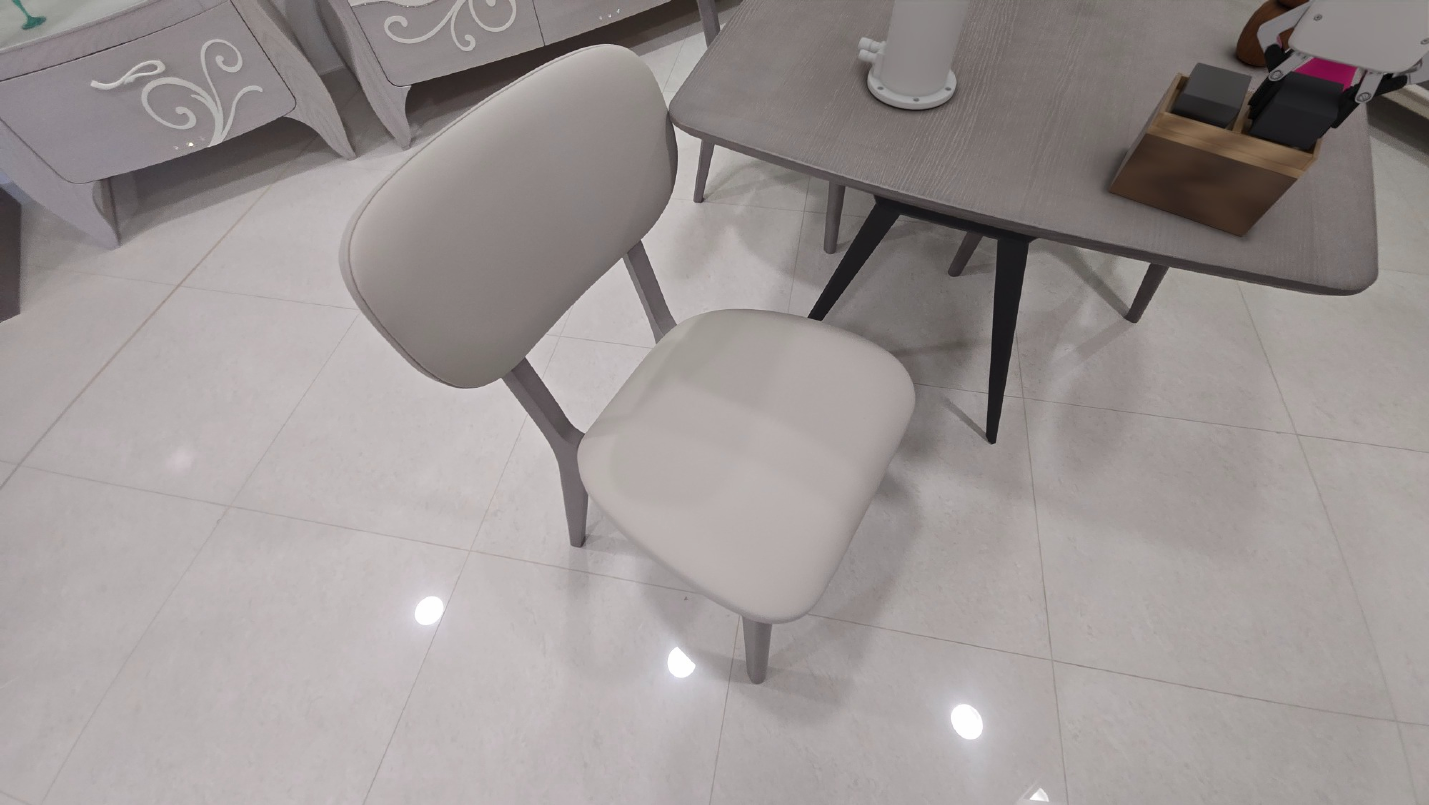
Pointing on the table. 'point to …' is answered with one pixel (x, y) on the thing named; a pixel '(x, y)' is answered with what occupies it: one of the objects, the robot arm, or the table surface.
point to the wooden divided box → (1209, 155)
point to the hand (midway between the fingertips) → (1286, 120)
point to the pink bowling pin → (1329, 71)
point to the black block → (1299, 111)
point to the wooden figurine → (1248, 41)
